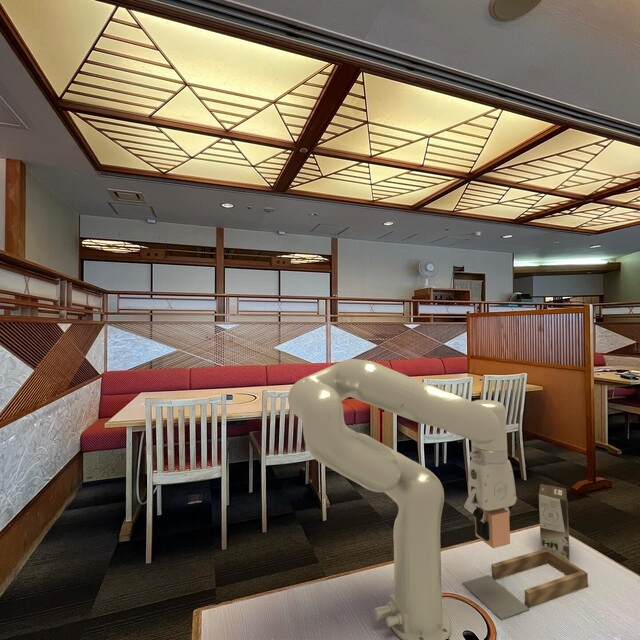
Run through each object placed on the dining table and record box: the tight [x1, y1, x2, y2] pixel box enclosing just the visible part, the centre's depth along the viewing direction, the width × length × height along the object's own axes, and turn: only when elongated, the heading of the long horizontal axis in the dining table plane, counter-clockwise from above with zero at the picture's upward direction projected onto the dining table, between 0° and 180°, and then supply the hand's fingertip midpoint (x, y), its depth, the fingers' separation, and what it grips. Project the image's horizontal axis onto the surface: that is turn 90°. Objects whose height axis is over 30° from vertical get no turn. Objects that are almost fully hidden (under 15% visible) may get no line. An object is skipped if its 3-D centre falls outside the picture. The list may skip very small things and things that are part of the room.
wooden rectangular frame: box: [490, 548, 589, 609], centre depth 80 cm, size 19×10×3 cm, turn 109°
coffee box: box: [538, 483, 570, 562], centre depth 92 cm, size 9×6×16 cm
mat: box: [462, 574, 531, 621], centre depth 75 cm, size 8×11×1 cm
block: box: [474, 508, 511, 549], centre depth 76 cm, size 5×5×7 cm
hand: (492, 534), depth 76 cm, fingers closed on block, 5 cm apart
